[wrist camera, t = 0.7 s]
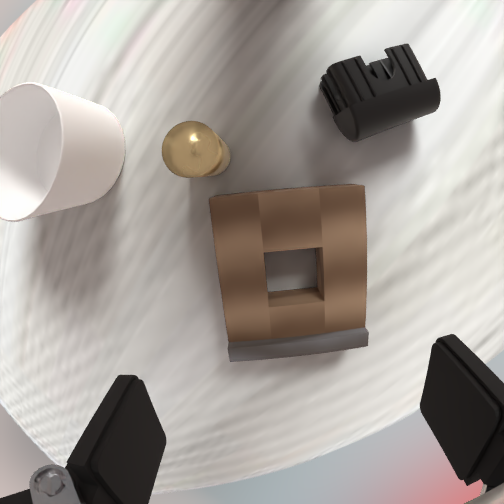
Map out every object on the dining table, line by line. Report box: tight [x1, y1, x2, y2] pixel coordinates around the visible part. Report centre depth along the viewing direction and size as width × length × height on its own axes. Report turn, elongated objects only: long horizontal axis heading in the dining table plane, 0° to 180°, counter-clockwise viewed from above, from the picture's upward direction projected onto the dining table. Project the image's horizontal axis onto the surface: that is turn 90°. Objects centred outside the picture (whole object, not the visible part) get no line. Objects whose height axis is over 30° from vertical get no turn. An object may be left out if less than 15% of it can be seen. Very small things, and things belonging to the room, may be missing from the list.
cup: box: [0, 82, 125, 222], centre depth 24 cm, size 12×12×12 cm
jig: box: [209, 184, 369, 362], centre depth 30 cm, size 16×14×5 cm
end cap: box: [320, 44, 440, 142], centre depth 25 cm, size 10×7×7 cm
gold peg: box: [162, 121, 230, 178], centre depth 25 cm, size 4×4×10 cm
